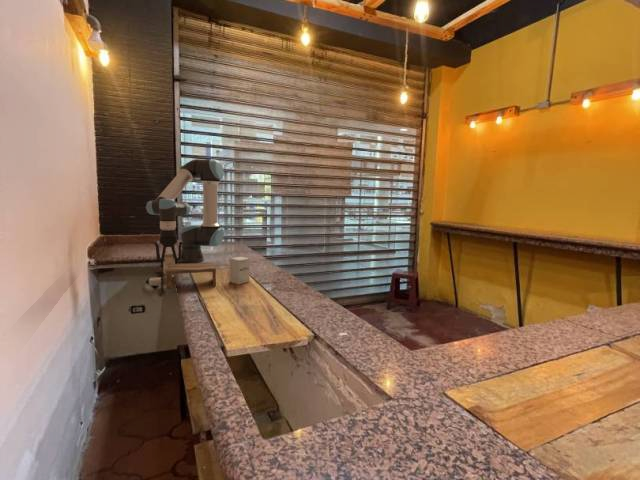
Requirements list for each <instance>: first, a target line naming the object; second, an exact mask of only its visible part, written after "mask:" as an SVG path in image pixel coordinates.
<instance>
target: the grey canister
mask: <svg viewBox="0 0 640 480" xmlns="http://www.w3.org/2000/svg"><path fill="white" fill-rule="evenodd" d="M249 282H250V257H249V258H248V257H243V256H236V257H231V258H229V283H233V284H236V285H240V284H245V283H249Z"/></svg>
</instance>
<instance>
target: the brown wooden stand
mask: <svg viewBox="0 0 640 480" xmlns="http://www.w3.org/2000/svg"><path fill="white" fill-rule="evenodd" d="M216 269H217V268H216V263H215V262H196V263H178V264H169V266H168V268H167V270H166V277H167V284H166V290H172V288H173V282H172V280H173V279H172V278H173V277H172V274H174V275H175V274H177V275H178V274H193V273H197V274H198V273H211V275H212V287H213V286H216V287H217V273H216V271H217V270H216Z"/></svg>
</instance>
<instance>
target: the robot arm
mask: <svg viewBox="0 0 640 480" xmlns="http://www.w3.org/2000/svg"><path fill="white" fill-rule="evenodd" d="M224 171H225V170H224V167H223V163H221V162H220V161H219V160H218V159H210V158H209V159H192V160H190V161H187V162H186V163H184V164H183V165H182V166H181V167H180V168H179V169H178V171H177V175H175V177H174V178H173V179H172V180H171V182H169V184H167V186H166V187H165V189H163V190H162V192H161V193H160V194H159V195H158V197H157V198H155V200H149V201H148V202H147V203H146V205H145V210H146V212H147V213H148V214H149V215H155V216H159V229H160V230H159V235H160V238H159V240H156V241H154V243H153V244H154V246H155V252H156V261H159V262H160V268H163V275H165V258H164V255H165V253H166V251H167V248H171V253H173V256H174V261H173V264H179V263H182V264H186V263H202V262H203V261H204V259H205V257H204V255H203V254H204V253H203V252H202V248H201V247H211V248H212V247H219V246H220V245H221V244H222V243H223V240H224V236H225V235H224V230H223V229H222V228H221V225H220V223H218V219H219V218H218V185H219V184H220V183H221V180H222V179H223V178H224V176H225V172H224ZM195 179H200V180H199V181H200V183H201V184H202V201H203V202H202V209H203V210H202V211H203V212H202V214H203V215H202V217H203V218H202V220H203V221H202V223H201V224H191V225H185V226H184V225H183V226H182V227H181V229H180V238H181V239H180V240H178V237H177V230H176V229H177V217H185V216H189V214H190V212H191V206H190V204H189V203H188V202H186V201H176V199H177V197H178V196H179V195H180V194H181V193H182V191H183V190H184V189H185V187H186V186H187V185H188V184H189V183H191V182H192V181H194V180H195ZM176 243H177V245H178V247H177V248H178V250H177V251H178V256H177V252H176V248H175V245H176ZM160 244H161V245H162V246H163V247H162V252H161V253H160ZM160 254H161V255H160Z"/></svg>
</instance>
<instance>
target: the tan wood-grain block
mask: <svg viewBox="0 0 640 480" xmlns="http://www.w3.org/2000/svg"><path fill="white" fill-rule="evenodd" d="M164 261H165V274H164V277H163V285H167V277H166V270H167V268H168V266H169V264H173V261H174V256H173V252H167V253H166V252H165V255H164ZM174 277H175V274H172V278H174Z"/></svg>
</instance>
